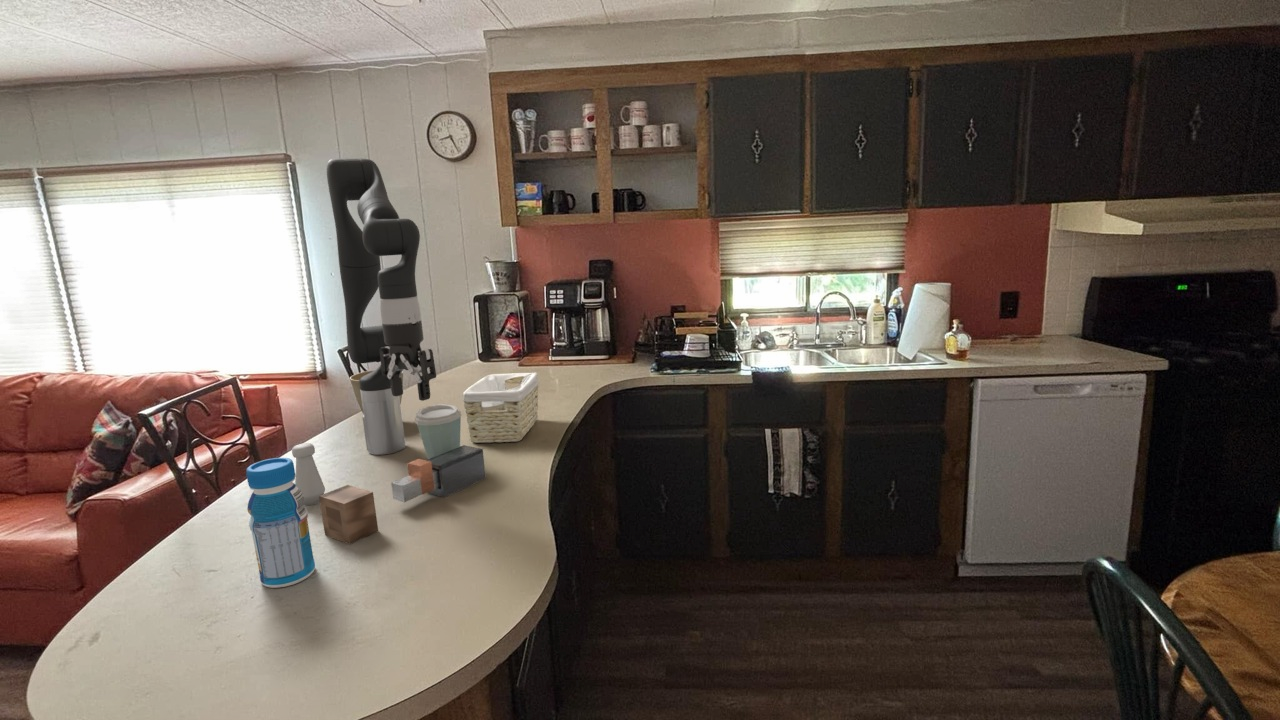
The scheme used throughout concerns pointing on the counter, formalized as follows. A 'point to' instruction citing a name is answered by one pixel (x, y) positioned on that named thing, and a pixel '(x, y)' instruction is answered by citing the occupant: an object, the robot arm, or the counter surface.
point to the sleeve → (458, 469)
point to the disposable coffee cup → (439, 428)
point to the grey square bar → (416, 481)
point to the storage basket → (501, 407)
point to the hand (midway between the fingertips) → (411, 397)
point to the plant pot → (356, 386)
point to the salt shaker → (307, 474)
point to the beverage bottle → (279, 524)
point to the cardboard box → (348, 513)
